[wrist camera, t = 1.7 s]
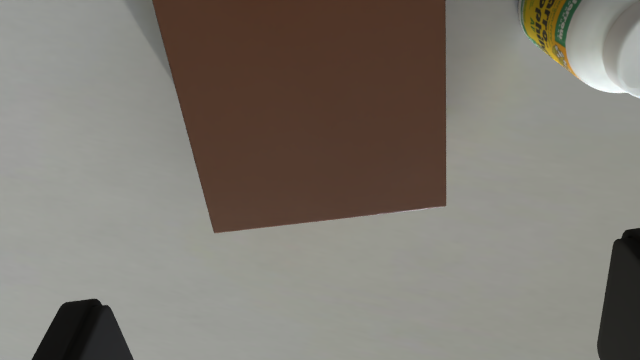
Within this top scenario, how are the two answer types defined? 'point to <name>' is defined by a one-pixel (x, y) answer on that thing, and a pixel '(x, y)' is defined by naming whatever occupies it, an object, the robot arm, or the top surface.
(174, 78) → the brown drawer front
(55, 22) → the top surface
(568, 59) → the supplement bottle
